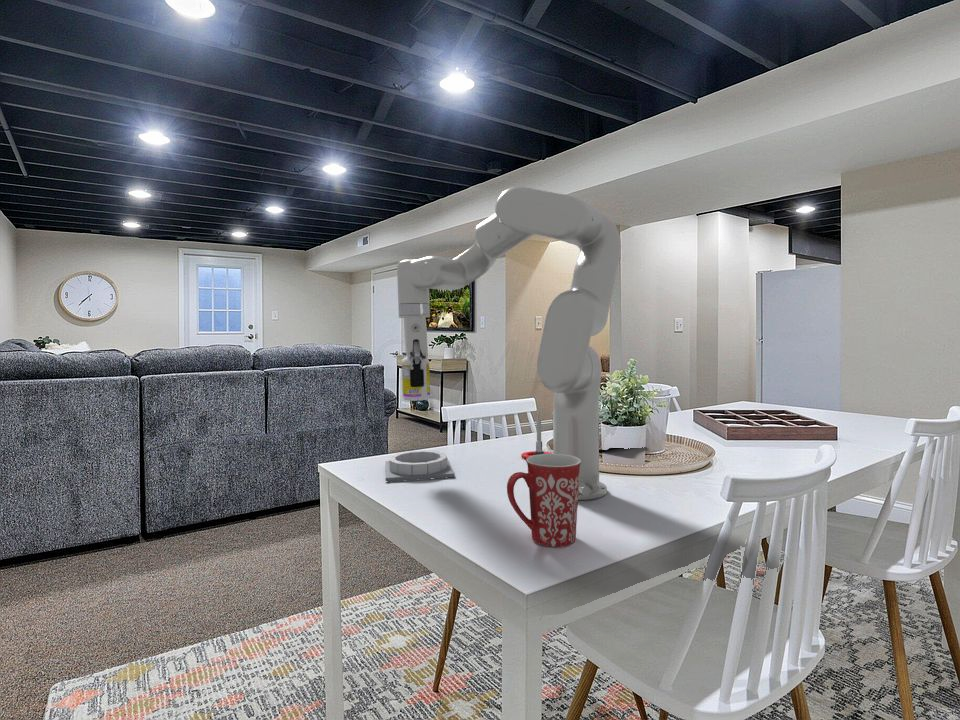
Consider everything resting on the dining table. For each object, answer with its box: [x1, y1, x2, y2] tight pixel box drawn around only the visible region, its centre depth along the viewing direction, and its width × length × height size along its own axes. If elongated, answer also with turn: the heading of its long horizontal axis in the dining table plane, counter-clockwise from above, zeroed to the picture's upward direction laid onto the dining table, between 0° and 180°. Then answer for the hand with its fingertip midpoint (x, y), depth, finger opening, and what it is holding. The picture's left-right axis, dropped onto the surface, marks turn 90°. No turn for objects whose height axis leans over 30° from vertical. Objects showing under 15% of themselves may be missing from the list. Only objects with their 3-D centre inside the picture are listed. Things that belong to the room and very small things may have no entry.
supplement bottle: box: [401, 346, 431, 402], centre depth 136 cm, size 7×7×13 cm
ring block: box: [384, 450, 456, 482], centre depth 138 cm, size 16×16×4 cm
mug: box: [506, 453, 581, 548], centre depth 92 cm, size 13×9×14 cm
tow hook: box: [520, 411, 553, 460], centre depth 149 cm, size 8×13×9 cm
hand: (416, 384), depth 137 cm, fingers closed on supplement bottle, 6 cm apart
